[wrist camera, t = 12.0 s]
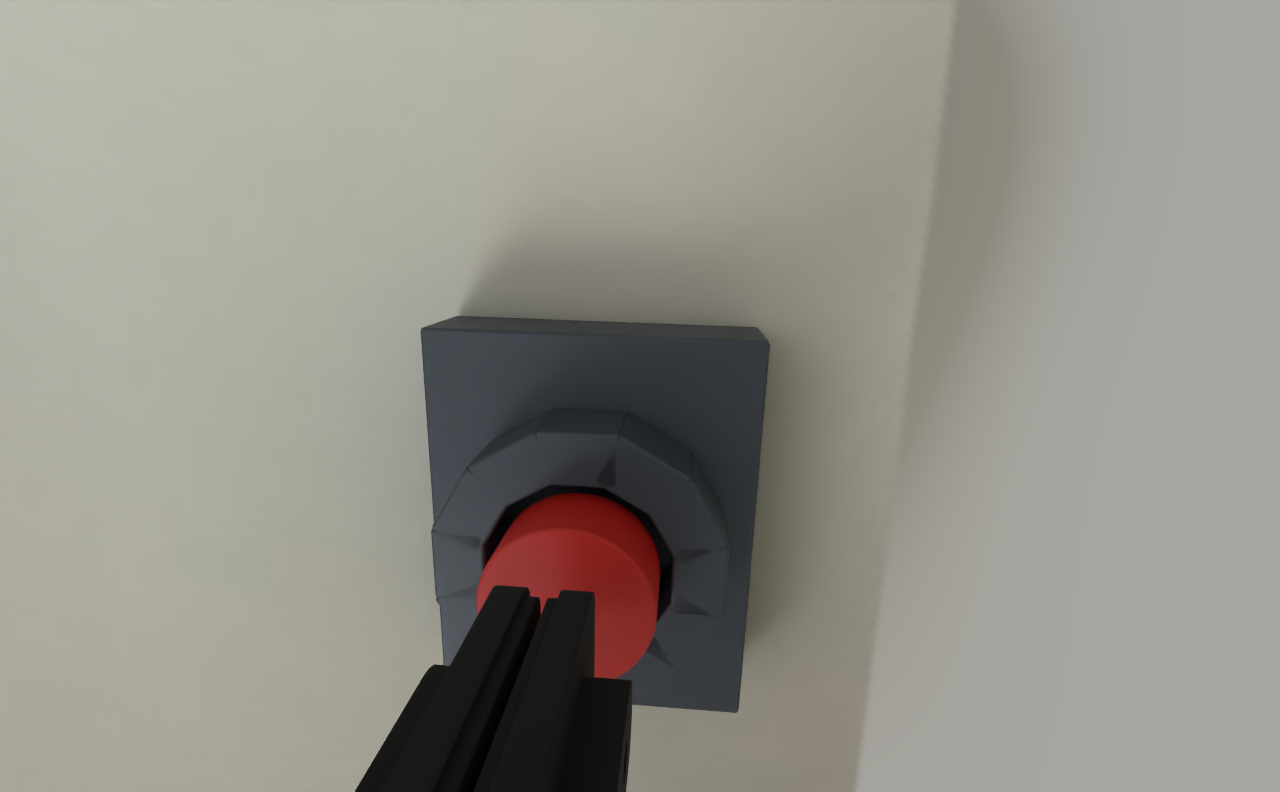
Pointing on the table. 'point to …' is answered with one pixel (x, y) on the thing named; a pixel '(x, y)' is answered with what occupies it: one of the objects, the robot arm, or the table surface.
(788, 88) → the table surface
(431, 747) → the robot arm
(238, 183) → the table surface
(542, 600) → the stop button
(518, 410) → the stop block
